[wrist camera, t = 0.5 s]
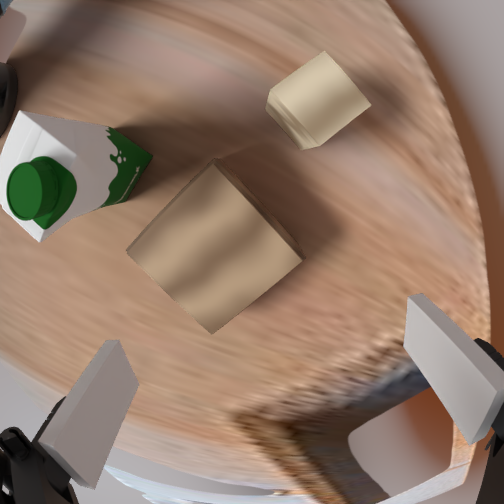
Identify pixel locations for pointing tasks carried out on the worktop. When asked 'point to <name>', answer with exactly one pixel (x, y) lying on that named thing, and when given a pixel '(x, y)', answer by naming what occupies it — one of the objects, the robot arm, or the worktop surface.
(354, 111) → the oak block
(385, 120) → the worktop surface
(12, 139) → the milk carton
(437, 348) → the robot arm
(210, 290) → the walnut box
